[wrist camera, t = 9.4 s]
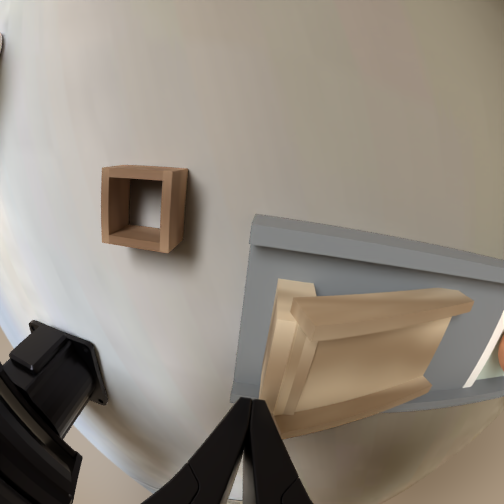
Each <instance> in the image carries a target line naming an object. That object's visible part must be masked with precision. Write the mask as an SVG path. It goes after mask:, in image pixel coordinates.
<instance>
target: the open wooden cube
mask: <svg viewBox="0 0 504 504" xmlns="http://www.w3.org/2000/svg"><path fill="white" fill-rule="evenodd" d="M187 176H188V169H185V168H172V167H157V166H138V165H120V166H112V167H104V168H102V184H101V227H102V243H108V244H114V245H120V246H126V247H132V248H138V249H144V250H151V251H157V252H163V253H169V252H170V251H171V250H173V249H174V248H175V247H176V246H177V245H178V244H179V243H180V242H181V241H182V240H183V233H184V216H185V201H186V188H187ZM130 178H133V179H147V180H161V181H163V182H162V198H161V220H160V229H159V228H152V227H144V226H137V225H129V197H130Z"/></svg>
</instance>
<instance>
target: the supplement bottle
mask: <svg viewBox="0 0 504 504" xmlns="http://www.w3.org/2000/svg"><path fill="white" fill-rule="evenodd" d="M1 48H2V35H1V33H0V52H1Z"/></svg>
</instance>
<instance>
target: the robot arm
mask: <svg viewBox="0 0 504 504" xmlns="http://www.w3.org/2000/svg"><path fill="white" fill-rule="evenodd" d="M29 327H30V331H31V334H30V335H29V336H28V337H27V338H26V339H24V340H23V341H22V342H21V343H20V344H19V345H18V346H17V347H16V348H14V349H13V350H12V351H11V353H10V354H9V357H10V359H9V360H8V361H7V362H6V363H5V364H4V365H2V364H1V362H0V504H72V503H73V499H74V494H75V489H76V484H77V479H78V475H79V470H80V466H81V462H82V456H81V455H80V454H79V453H78V452H76V451H74V450H73V449H72V448H71V447H70V446H69V445H68V444H67V443H66V442H65V441H64V440H63V438H64V437H65V436H66V434H67V433H68V431H69V430H70V428H71V426H72V425H73V423H74V422H75V420H76V419H77V417H78V416H79V415H80V413H81V412H82V410H83V409H84V407H85V406H86V404H87V403H88V401H89V400H91V401H94V402H96V403H98V404H101V405H106V404H107V402H108V398H107V395H106V392H105V389H104V385H103V382H102V378H101V375H100V371H99V367H98V363H97V359H96V355H95V351H94V348H93V346H92V344H91V343H90V342H88V341H86V340H83V339H80V338H77V337H75V336H72V335H69V334H67V333H64V332H62V331H59V330H56V329H54V328H52V327H49V326H47V325H44V324H42V323H40V322H37V321H35V320H32V321H31V322H30V323H29ZM243 451H244V453H243ZM242 455H243V503H242V504H313V503H312V501H311V500H310V498H309V496H308V494H307V492H306V490H305V488H304V487H303V484H302V482H301V480H300V478H298V477H299V476H298V474H297V472H296V470H295V467H294V465H293V463H292V461H291V459H290V456H289V454H288V452H287V450H286V447H285V445H284V443H283V441H282V438H281V436H280V434H279V431H278V429H277V427H276V425H275V422H274V420H273V418H272V415H271V413H270V410H269V408H268V406H267V403H266V401H265V400H262V399H253V400H252V399H251V398H247V397H240V398H239V399H238V400H237V401H236V403H235V404H234V405H233V407H232V408H231V409H230V410H229V412H228V413H227V414H226V416H225V417H224V418H223V419H222V421H221V422H220V423H219V424H218V426H217V427H216V428H215V429H214V431H213V432H212V433H211V434H210V436H209V437H208V438H207V439H206V440H205V442H204V443H203V444H202V445H201V446H200V448H199V449H198V450H197V451H196V452H195V454H194V455H193V456H192V457H191V458H190V459H189V461H188V463H186V464H185V465H184V466H183V467H182V468H181V469H180V471H179V472H178V473H177V474H176V475H175V476H174V477H173V478H172V479H171V480H170V481H169V482H167V483H166V484H165V485H164V486H163V487H162V488H160V489H159V490H158V491H157V492H155V493H154V494H153V495H152V496H150V497H149V498H148V499H146V500H145V501H144V502H142V503H141V504H227V501H228V498H229V495H230V492H231V489H232V486H233V483H234V480H235V477H236V474H237V471H238V468H239V465H240V462H241V459H242Z"/></svg>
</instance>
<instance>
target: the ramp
mask: <svg viewBox="0 0 504 504" xmlns="http://www.w3.org/2000/svg"><path fill="white" fill-rule="evenodd" d="M473 304H474V301H473V300H472V299H470V298H469V297H467V296H466V295H464V294H463V293H461V292H460V291H458V290H452V289H444V288H428V289H418V290H407V291H395V292H382V293H368V294H352V295H335V296H316V292H315V287H314V283H307V282H300V281H293V280H286V279H279V278H278V283H277V288H276V294H275V300H274V305H273V311H272V316H271V322H270V327H269V333H268V338H267V343H266V348H265V353H264V359H263V364H262V373H261V383H260V392H259V399H262V400H265V401H266V403H267V406H268V408H269V410H270V413H271V415H272V418H273V420H274V422H275V425H276V427H277V429H278V431H279V434H280V436H281V438H282V439H287V438H292V437H296V436H301V435H305V434H310V433H314V432H318V431H322V430H326V429H329V428H333V427H337V426H340V425H343V424H347V423H350V422H353V421H356V420H360V419H363V418H366V417H369V416H371V415H374V414H377V413H380V412H383V411H385V410H388V409H391V408H393V407H396V406H398V405H401V404H403V403H406V402H408V401H410V400H413V399H415V398H417V397H420V396H422V395H424V394H426V393H428V392H429V390H430V389H431V387H432V384H431V383H430V382H429V381H428V380H427V379H426V378H425V377H424V376H423V375H424V373H425V371H426V369H427V367H428V365H429V364H430V362H431V360H432V358H433V356H434V354H435V352H436V350H437V348H438V346H439V344H440V342H441V340H442V338H443V336H444V333H445V331H446V329H447V327H448V325H449V322H450V320H451V318H452V316H456V315H460V314H464V313H467V312H470V311H471V309H472V306H473Z"/></svg>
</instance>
